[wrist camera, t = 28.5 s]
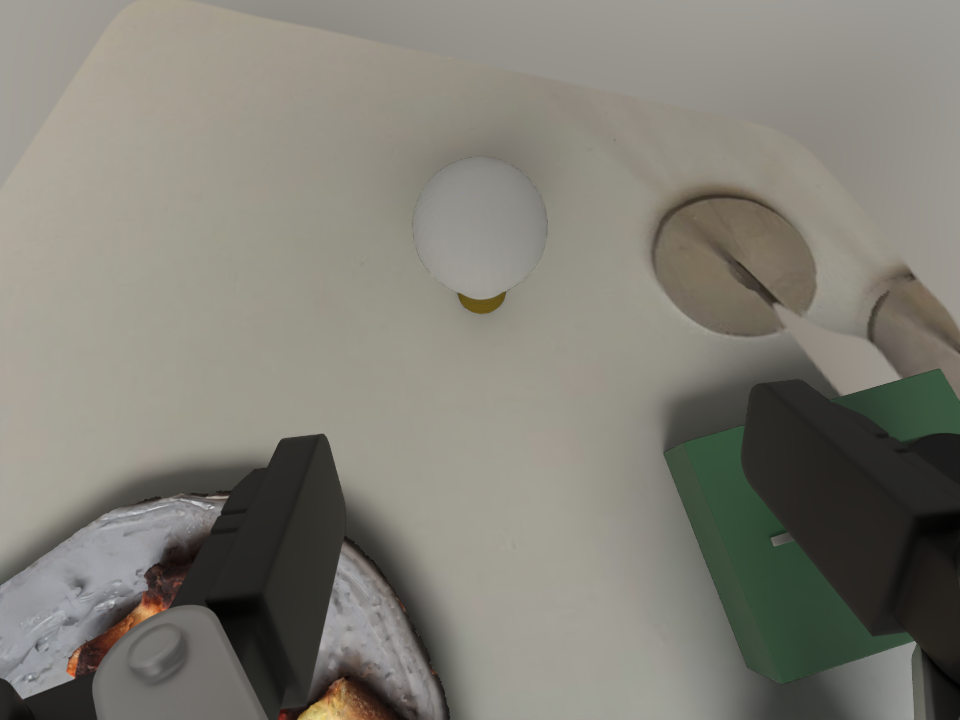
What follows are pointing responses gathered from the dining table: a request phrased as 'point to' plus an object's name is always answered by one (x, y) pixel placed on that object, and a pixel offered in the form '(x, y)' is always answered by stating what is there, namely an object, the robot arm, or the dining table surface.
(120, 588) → the food plate
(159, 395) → the dining table surface
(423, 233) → the light bulb
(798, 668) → the block
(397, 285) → the dining table surface
